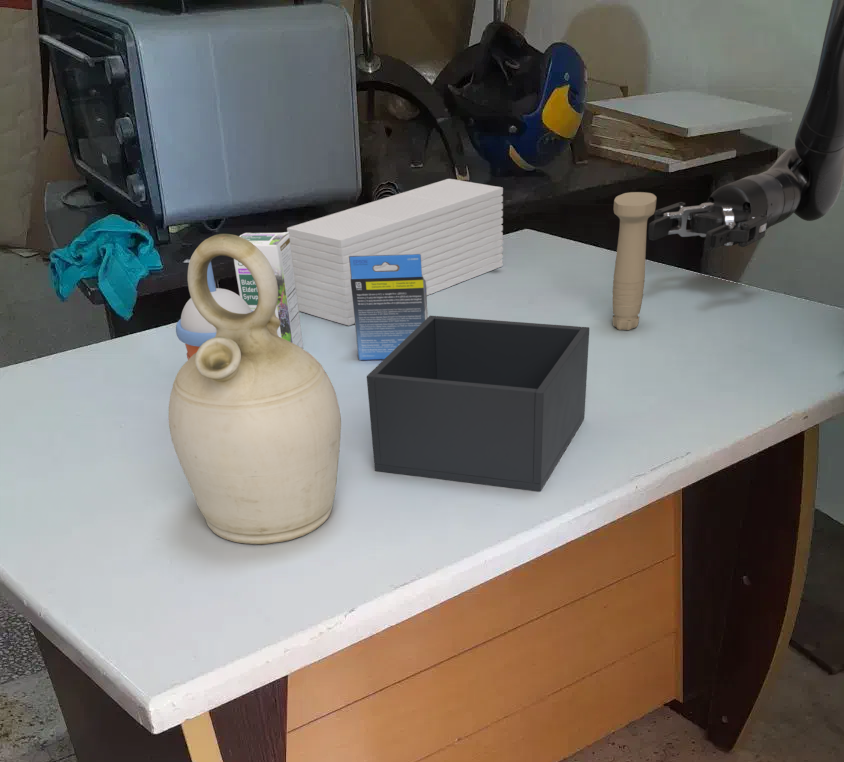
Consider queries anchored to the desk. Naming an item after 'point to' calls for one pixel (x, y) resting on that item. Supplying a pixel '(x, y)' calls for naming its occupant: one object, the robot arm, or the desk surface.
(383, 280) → the tape cartridge
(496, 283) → the desk surface
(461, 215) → the white rectangular block
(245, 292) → the syrup box
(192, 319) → the cup with straw
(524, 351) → the bin
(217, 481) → the jug
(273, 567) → the desk surface
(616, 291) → the handle
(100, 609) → the desk surface
